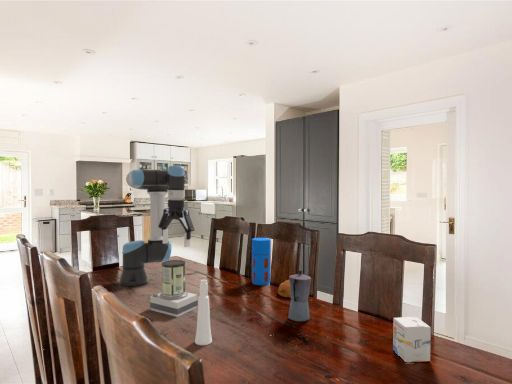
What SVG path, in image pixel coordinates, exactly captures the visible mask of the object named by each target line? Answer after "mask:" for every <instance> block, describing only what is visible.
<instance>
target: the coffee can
mask: <svg viewBox="0 0 512 384" xmlns="http://www.w3.org/2000/svg"><path fill="white" fill-rule="evenodd" d="M161 282H162V283H161V285H162V286H161V287H162V288H161V289H162V292H161V293H162V295H163V296H166V297H177V296H181V295H184V294H185V291H186V261H185V260H182V259H173V260H172V259H171V260H170V259H169V260H168V261H164V262H161Z"/></svg>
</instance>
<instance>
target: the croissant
mask: <svg viewBox="0 0 512 384" xmlns="http://www.w3.org/2000/svg"><path fill="white" fill-rule="evenodd" d="M277 294H278V295H279V296H281V297H284V298H287V297H289V298H288V299H291V293H290V281H289V279H286V280H285V281H284V282H282V283H280V284H279V286H278V289H277Z"/></svg>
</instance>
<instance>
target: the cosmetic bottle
mask: <svg viewBox="0 0 512 384" xmlns="http://www.w3.org/2000/svg"><path fill="white" fill-rule="evenodd" d="M208 291H209V286H208V280H207V279H206V278H205V279H200V283H199V295H198V297H197V300H198V306H197V317H196V318H197V321H196V331H195V332H196V333H195V337H194V338H195V339H194V343H195V344H196V345H197V346H209V345H211V344H212V342H213V339H212V338H213V337H212V331H211V329H212V328H211V317H210V315H211V313H210V296H209V295H208V294H209V293H208Z"/></svg>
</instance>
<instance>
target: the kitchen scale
mask: <svg viewBox="0 0 512 384" xmlns="http://www.w3.org/2000/svg"><path fill="white" fill-rule="evenodd" d="M149 300H150V303H149V308H150V311H153V312H157V313H160V314H164V315H168V316H172V317H176V318H179V317H181V316H183V315H185V314H187V313H189V312H190V311H191V312H192V311H193V310H196V309H198V294H197V293H196V294H195V293H192V292H188V291H186V290H185V294H184V295H181V296H177V297H166V296H163V295H162V292H159V293H153V294H152V295H151V296H150V299H149Z"/></svg>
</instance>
